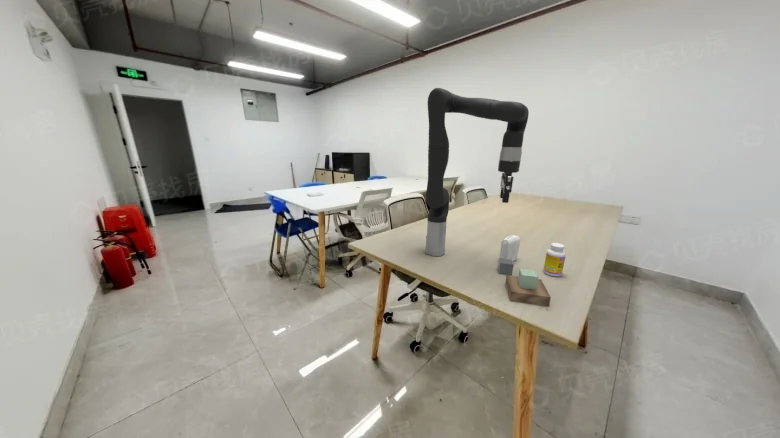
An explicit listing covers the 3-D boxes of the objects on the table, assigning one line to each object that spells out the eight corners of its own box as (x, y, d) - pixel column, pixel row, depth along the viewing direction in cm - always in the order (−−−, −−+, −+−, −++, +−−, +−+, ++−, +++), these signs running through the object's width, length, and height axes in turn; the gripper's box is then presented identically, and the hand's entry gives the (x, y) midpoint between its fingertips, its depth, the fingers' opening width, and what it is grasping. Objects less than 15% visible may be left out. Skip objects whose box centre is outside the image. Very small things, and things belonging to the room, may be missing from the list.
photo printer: (510, 256, 121) (513, 232, 118) (518, 259, 118) (522, 235, 114) (497, 261, 116) (500, 236, 112) (506, 265, 112) (509, 239, 109)
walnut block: (509, 301, 87) (511, 291, 86) (505, 284, 98) (506, 275, 97) (548, 307, 83) (550, 297, 82) (539, 288, 94) (541, 279, 93)
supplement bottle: (557, 278, 101) (563, 249, 97) (540, 272, 106) (545, 244, 102) (564, 273, 104) (570, 245, 101) (547, 268, 109) (552, 240, 106)
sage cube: (520, 287, 88) (522, 275, 87) (517, 280, 93) (519, 268, 91) (536, 289, 87) (538, 277, 85) (532, 282, 91) (534, 270, 90)
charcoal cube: (499, 273, 105) (500, 263, 104) (497, 268, 110) (499, 258, 108) (511, 275, 104) (513, 264, 102) (510, 269, 108) (511, 259, 107)
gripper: (497, 158, 104) (492, 196, 109) (501, 160, 91) (495, 203, 96) (517, 158, 102) (511, 197, 106) (523, 160, 89) (516, 204, 93)
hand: (503, 200), depth 101 cm, fingers open, 8 cm apart
